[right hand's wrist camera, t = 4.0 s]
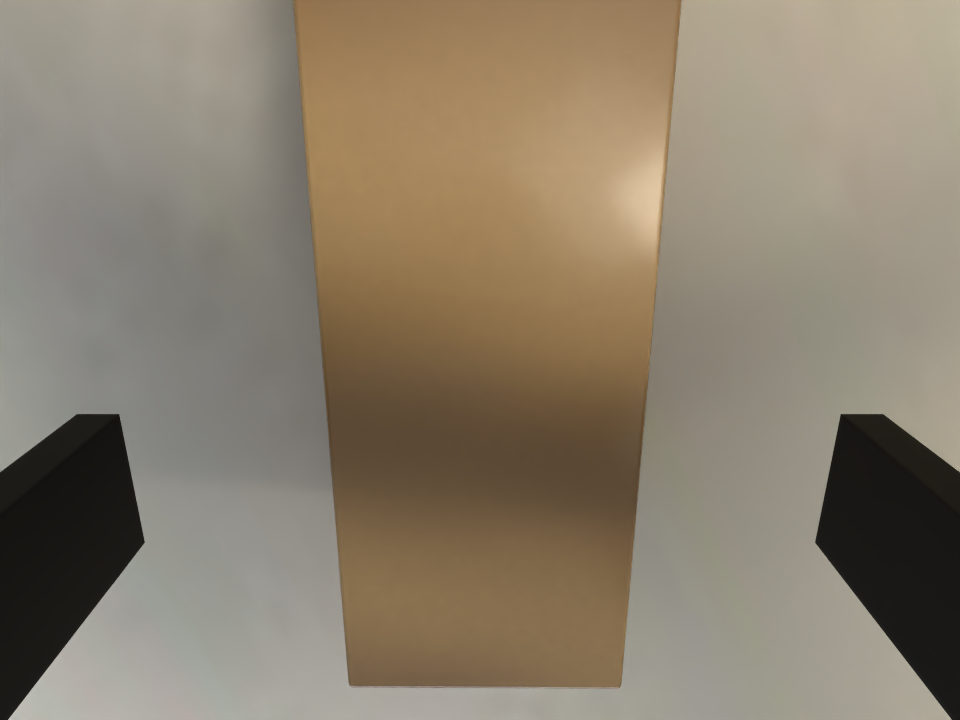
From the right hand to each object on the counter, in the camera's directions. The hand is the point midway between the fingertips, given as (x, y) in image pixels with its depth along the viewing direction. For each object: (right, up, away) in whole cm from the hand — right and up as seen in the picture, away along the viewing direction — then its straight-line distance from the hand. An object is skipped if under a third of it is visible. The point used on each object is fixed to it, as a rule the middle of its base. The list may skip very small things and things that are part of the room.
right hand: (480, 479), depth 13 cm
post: (0, +27, -1) cm, 27 cm away
